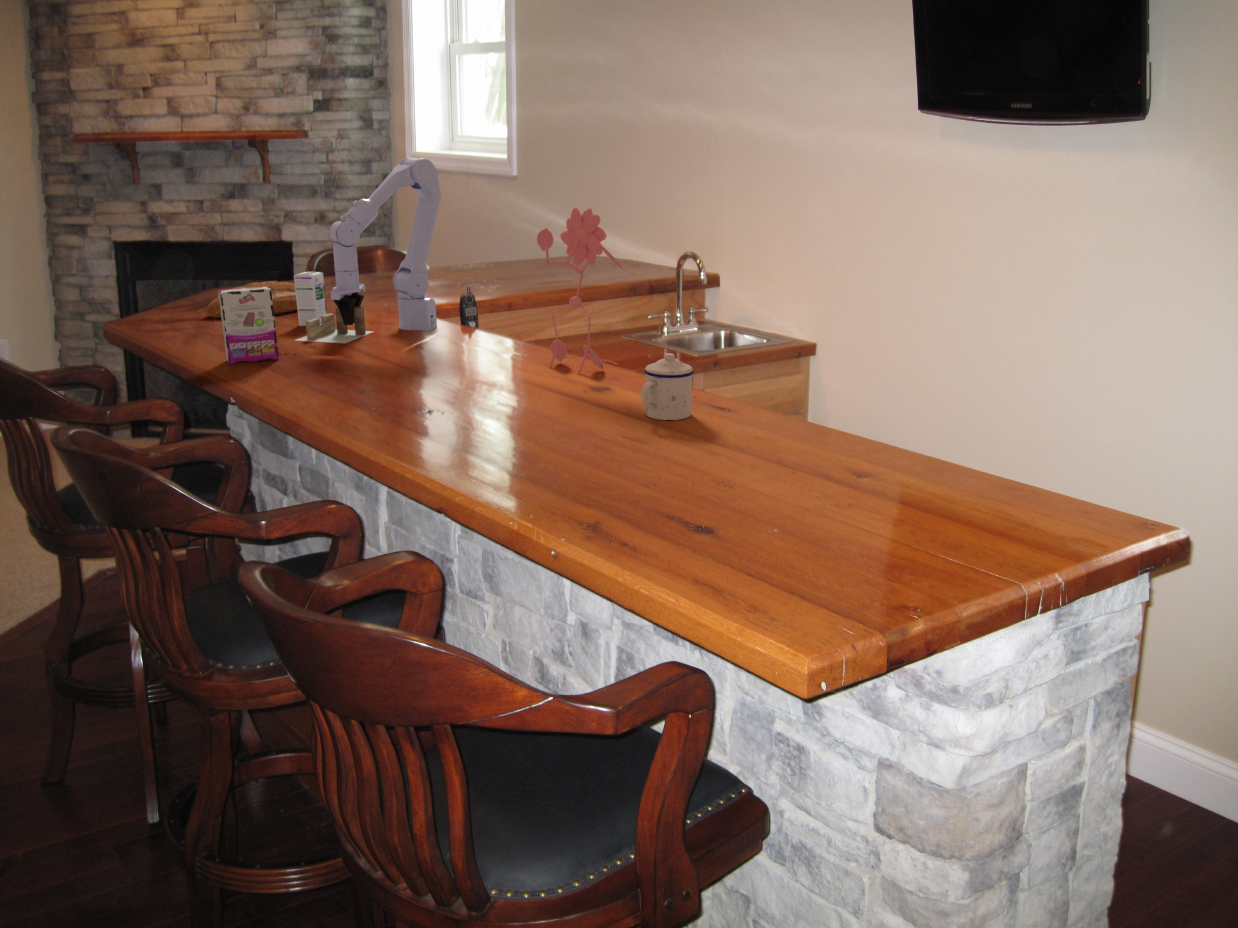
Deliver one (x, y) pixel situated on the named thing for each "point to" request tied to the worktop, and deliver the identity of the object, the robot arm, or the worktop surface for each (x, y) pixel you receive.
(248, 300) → the candy bar box
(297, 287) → the syrup box
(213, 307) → the bread
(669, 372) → the teacup with lid
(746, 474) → the worktop surface
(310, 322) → the wooden u-shaped block
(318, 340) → the board
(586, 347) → the figurine
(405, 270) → the robot arm
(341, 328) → the wooden c-clamp shape
